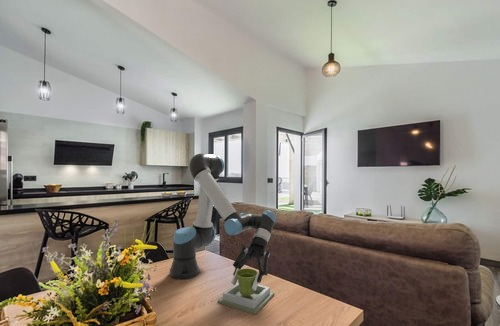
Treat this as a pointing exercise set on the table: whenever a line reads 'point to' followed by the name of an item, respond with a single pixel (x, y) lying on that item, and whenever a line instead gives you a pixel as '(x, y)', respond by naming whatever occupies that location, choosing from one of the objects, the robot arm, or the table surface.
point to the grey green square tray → (247, 298)
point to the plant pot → (246, 281)
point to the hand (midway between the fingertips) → (243, 286)
